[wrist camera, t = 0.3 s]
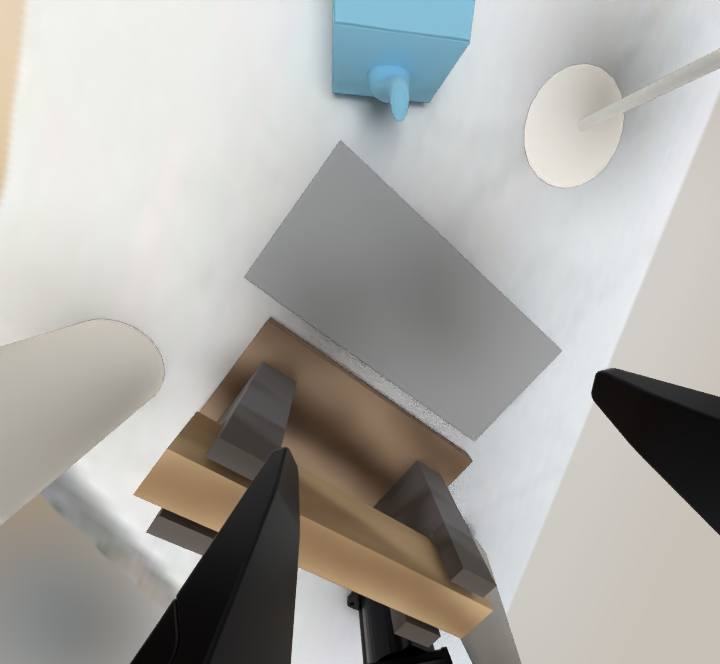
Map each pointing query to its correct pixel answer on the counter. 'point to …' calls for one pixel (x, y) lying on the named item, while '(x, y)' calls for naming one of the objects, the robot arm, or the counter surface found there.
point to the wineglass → (588, 119)
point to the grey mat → (400, 297)
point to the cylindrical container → (67, 400)
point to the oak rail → (322, 533)
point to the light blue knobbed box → (397, 47)
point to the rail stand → (337, 452)
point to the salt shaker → (491, 632)
